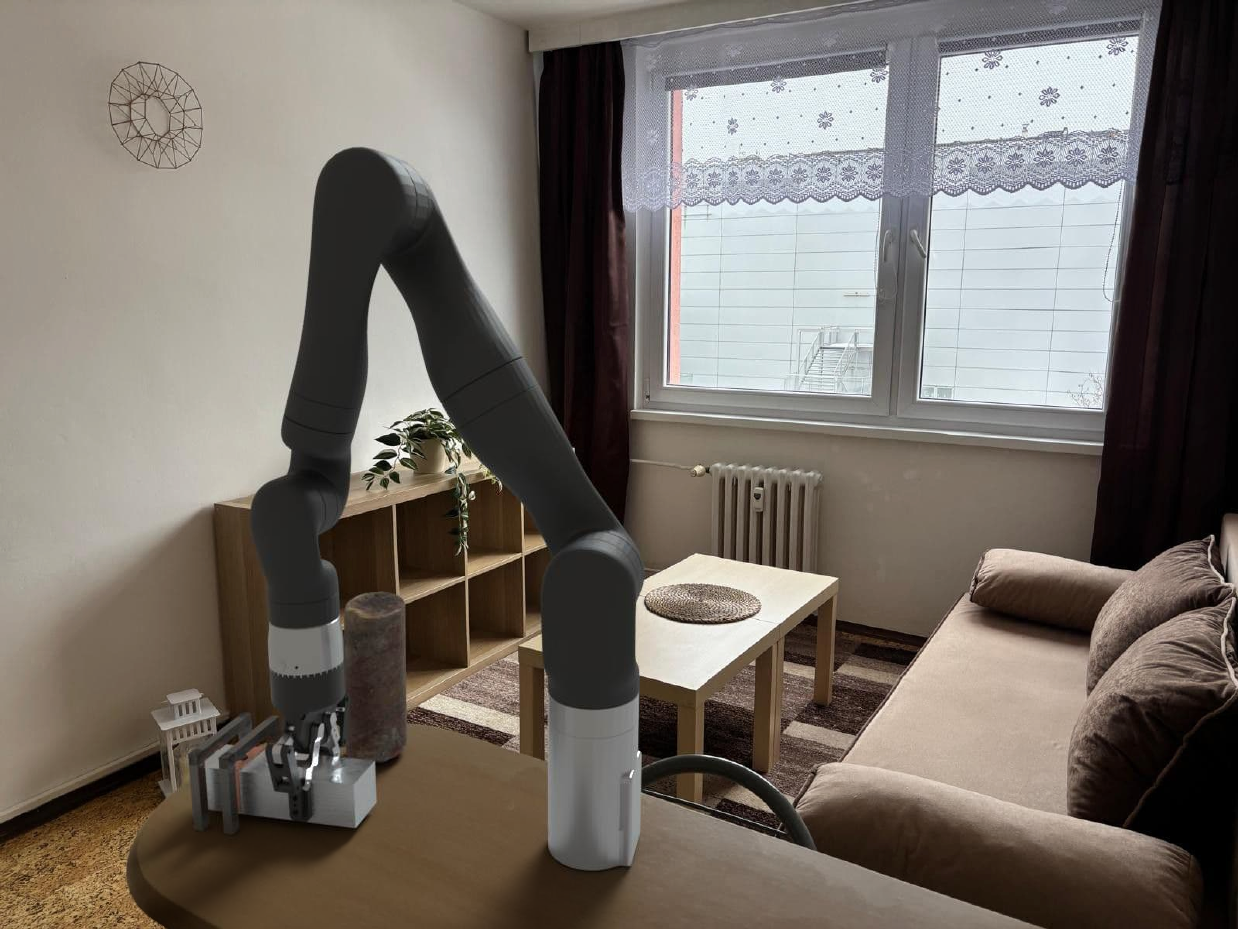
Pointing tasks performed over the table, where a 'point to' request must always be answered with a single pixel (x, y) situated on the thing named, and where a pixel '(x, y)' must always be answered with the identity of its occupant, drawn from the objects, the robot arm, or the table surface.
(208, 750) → the collar
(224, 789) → the collar
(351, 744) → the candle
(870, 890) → the table surface
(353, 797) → the brushed metal post
